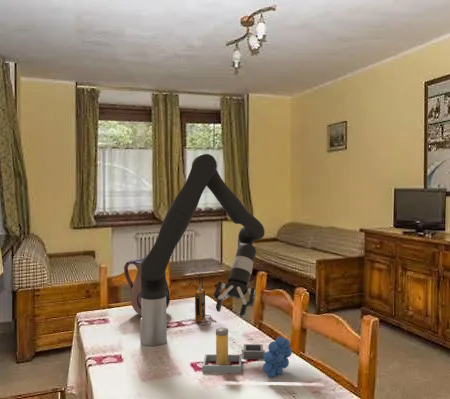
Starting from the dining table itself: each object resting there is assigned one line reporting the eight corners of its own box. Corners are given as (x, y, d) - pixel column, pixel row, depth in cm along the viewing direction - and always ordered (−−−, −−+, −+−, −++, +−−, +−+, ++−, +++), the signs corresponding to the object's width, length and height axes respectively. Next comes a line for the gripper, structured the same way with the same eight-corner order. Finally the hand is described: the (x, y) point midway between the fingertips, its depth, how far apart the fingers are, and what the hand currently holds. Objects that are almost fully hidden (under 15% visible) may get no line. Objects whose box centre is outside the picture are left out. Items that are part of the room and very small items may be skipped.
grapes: (280, 366, 137) (280, 329, 137) (296, 373, 132) (296, 335, 132) (254, 376, 130) (253, 338, 130) (269, 384, 125) (269, 344, 124)
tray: (202, 374, 132) (202, 365, 132) (205, 362, 141) (205, 354, 141) (241, 375, 131) (240, 366, 131) (241, 363, 140) (241, 354, 140)
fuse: (215, 369, 134) (215, 331, 134) (216, 364, 138) (216, 327, 138) (228, 369, 134) (227, 331, 134) (228, 364, 138) (228, 327, 137)
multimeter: (215, 326, 177) (215, 278, 176) (192, 325, 179) (192, 278, 178) (223, 316, 191) (222, 271, 190) (201, 314, 193) (201, 271, 192)
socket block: (241, 361, 142) (241, 352, 142) (241, 351, 150) (241, 343, 150) (265, 361, 141) (265, 352, 141) (264, 352, 149) (264, 343, 149)
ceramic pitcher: (167, 320, 186) (166, 263, 185) (119, 320, 186) (117, 263, 185) (172, 308, 203) (171, 256, 202) (128, 309, 203) (127, 257, 203)
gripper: (220, 263, 155) (208, 305, 147) (258, 270, 151) (247, 314, 143) (225, 272, 161) (213, 313, 153) (261, 278, 157) (250, 321, 149)
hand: (229, 313), depth 148 cm, fingers open, 8 cm apart
